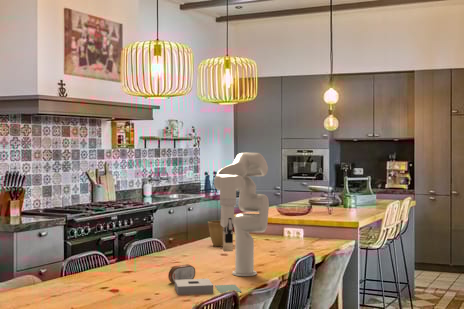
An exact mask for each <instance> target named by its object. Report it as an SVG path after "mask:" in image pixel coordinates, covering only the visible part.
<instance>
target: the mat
mask: <svg viewBox="0 0 464 309" xmlns="http://www.w3.org/2000/svg"><path fill="white" fill-rule="evenodd" d="M214 287H215V289H216V290H217V291H218V292H219V293H220V294H222V293H223V292H225V293H227V292H226V291H228V290H236V291H237V292H236V293H241V294H242V290H241V289H240V288H239V287H238V286H237V285H236V284H217V285H214Z"/></svg>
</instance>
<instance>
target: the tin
mask: <svg viewBox="0 0 464 309" xmlns="http://www.w3.org/2000/svg"><path fill="white" fill-rule="evenodd" d="M195 277H196V268H195V267H194V266H193V265H190V264H189V263H188V264H181V265H175V266H173V267H171V268H170V269H169V271H168V276H167V278H168V280H169V282H170V283H172V284H175V280H184V279H195Z"/></svg>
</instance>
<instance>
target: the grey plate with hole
mask: <svg viewBox="0 0 464 309" xmlns="http://www.w3.org/2000/svg"><path fill="white" fill-rule="evenodd" d="M174 289H175V291H176V293H177V295H196V294H198V295H199V294H202V295H203V294H214V284H213V283H212V282H211V280H210V279H209V278H194V279H184V280H175V283H174Z"/></svg>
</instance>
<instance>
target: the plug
mask: <svg viewBox="0 0 464 309" xmlns="http://www.w3.org/2000/svg"><path fill="white" fill-rule="evenodd" d="M225 234H226V231H223V246H222V251H223V252H227V253H228V252H234V231H233V230H232V243H226V242H225Z"/></svg>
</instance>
